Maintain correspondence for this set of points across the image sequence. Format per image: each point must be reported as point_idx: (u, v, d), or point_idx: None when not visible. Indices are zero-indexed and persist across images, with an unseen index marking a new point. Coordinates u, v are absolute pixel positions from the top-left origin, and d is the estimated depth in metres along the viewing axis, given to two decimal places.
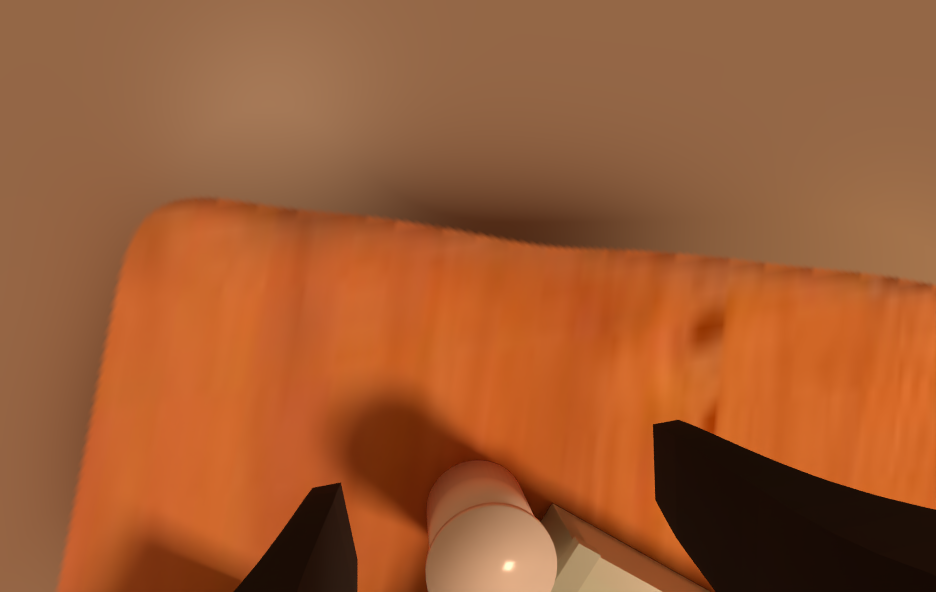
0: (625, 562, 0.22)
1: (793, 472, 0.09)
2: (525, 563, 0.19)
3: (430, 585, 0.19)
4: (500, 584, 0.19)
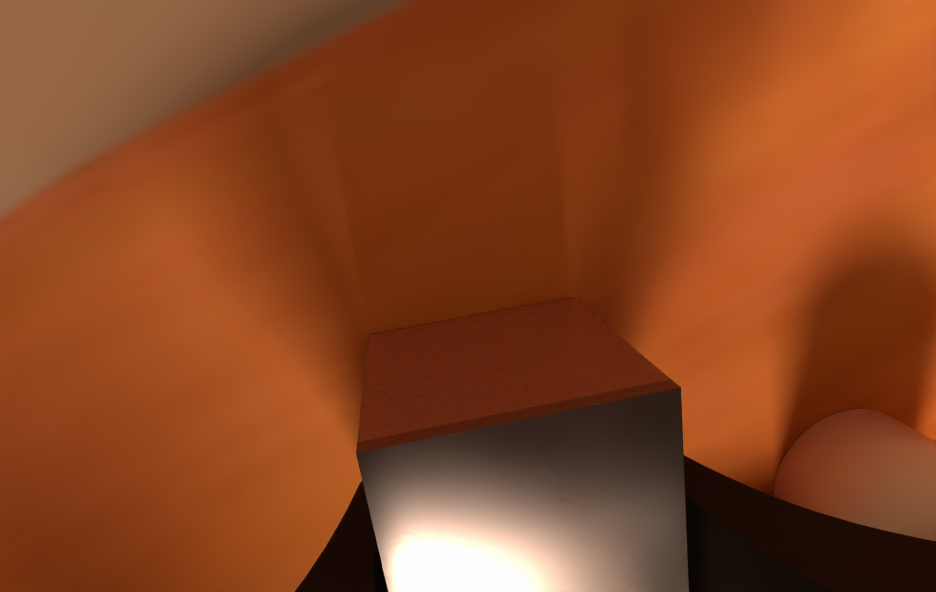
0: None
1: (733, 484, 0.09)
2: None
3: None
4: None
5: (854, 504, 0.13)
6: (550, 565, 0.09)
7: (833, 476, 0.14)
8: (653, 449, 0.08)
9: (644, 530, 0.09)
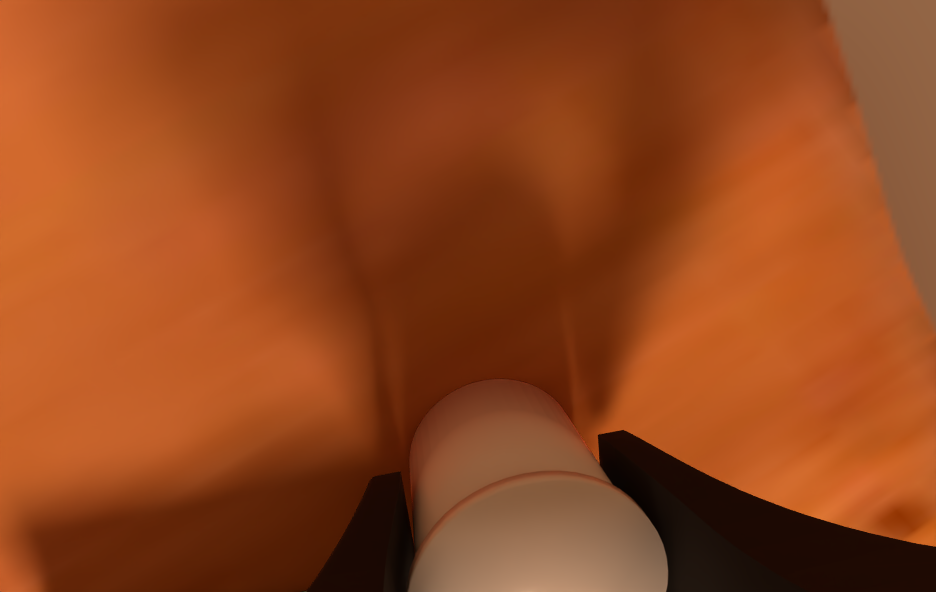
0: None
1: (721, 486, 0.09)
2: None
3: (443, 537, 0.09)
4: None
5: (423, 484, 0.11)
6: None
7: (426, 453, 0.12)
8: None
9: None
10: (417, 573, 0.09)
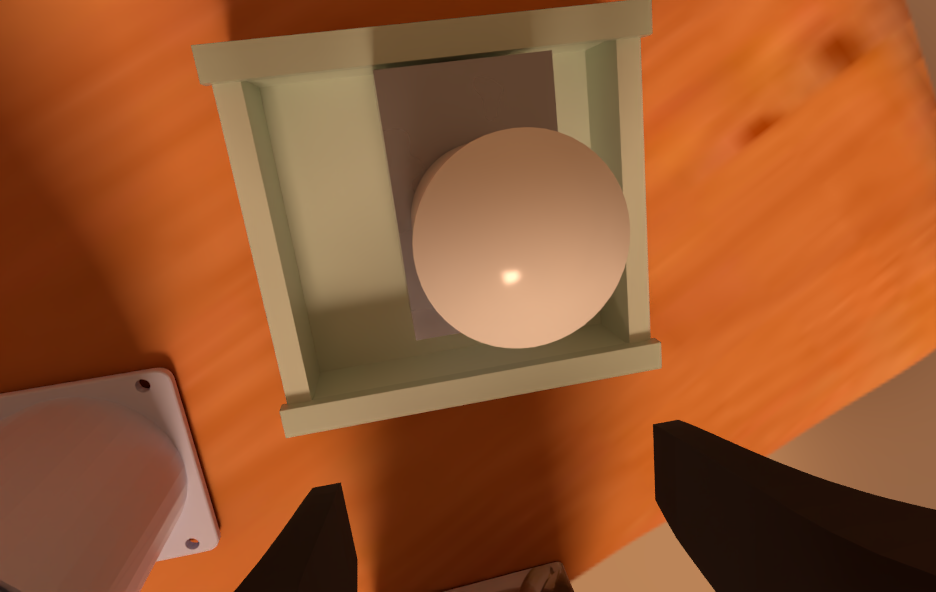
0: None
1: (793, 472, 0.09)
2: (562, 280, 0.12)
3: (444, 172, 0.11)
4: (513, 270, 0.12)
5: (425, 189, 0.13)
6: None
7: (427, 179, 0.14)
8: (537, 89, 0.15)
9: None
10: (422, 205, 0.11)
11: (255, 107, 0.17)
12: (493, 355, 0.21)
